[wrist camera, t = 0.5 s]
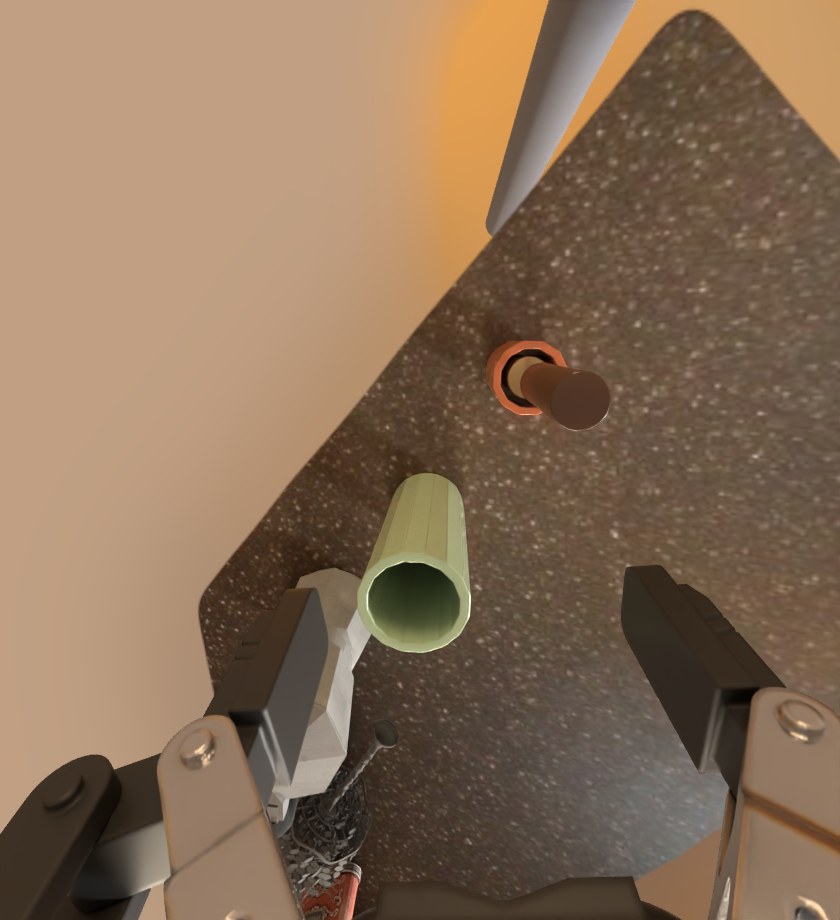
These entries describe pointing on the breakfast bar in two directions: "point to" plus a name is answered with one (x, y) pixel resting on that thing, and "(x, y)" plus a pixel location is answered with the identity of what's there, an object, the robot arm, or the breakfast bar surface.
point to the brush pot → (499, 361)
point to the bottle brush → (558, 391)
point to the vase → (418, 568)
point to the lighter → (333, 896)
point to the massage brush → (331, 822)
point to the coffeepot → (326, 695)
